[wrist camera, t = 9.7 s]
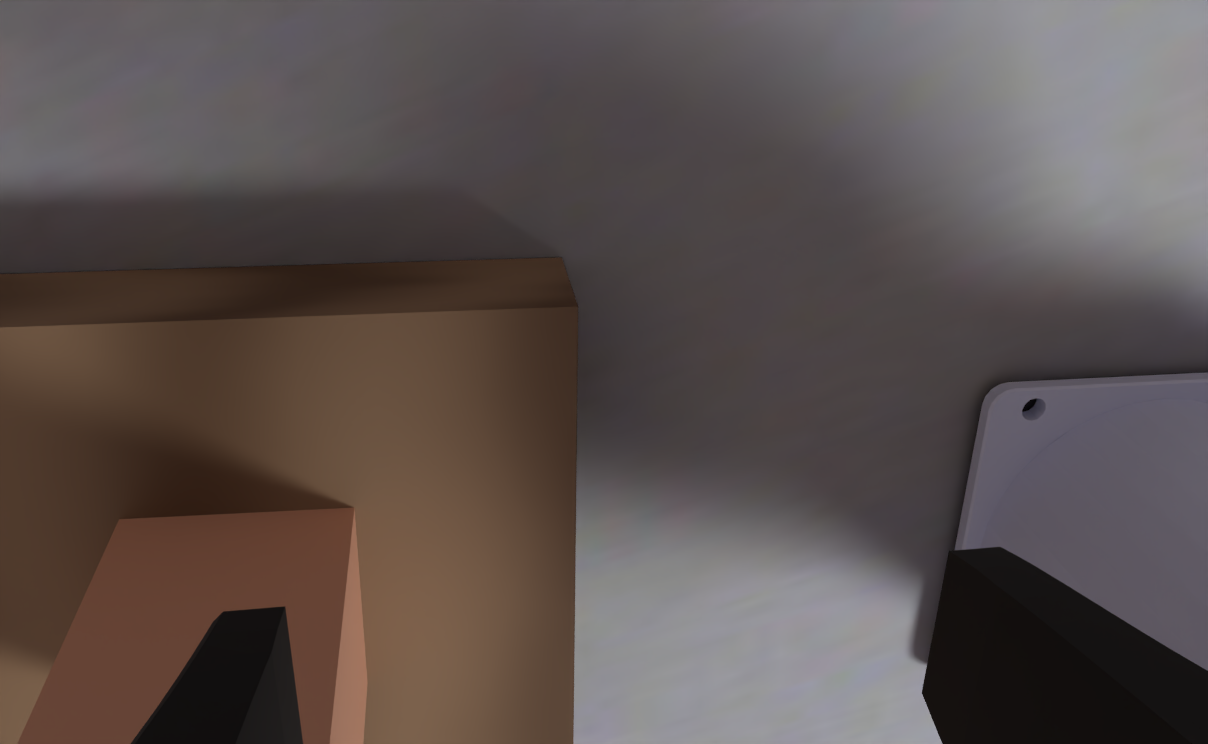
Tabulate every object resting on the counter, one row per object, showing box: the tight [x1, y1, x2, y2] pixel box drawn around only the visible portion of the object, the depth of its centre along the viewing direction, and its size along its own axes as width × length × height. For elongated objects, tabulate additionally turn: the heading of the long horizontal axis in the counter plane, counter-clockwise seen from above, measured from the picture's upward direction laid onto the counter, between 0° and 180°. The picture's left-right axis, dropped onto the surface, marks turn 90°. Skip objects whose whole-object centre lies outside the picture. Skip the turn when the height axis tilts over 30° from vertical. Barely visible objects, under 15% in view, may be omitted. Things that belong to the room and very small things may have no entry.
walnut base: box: [0, 257, 578, 744], centre depth 21 cm, size 12×12×2 cm
